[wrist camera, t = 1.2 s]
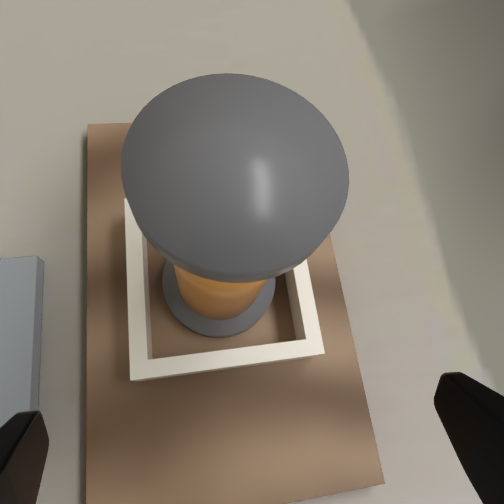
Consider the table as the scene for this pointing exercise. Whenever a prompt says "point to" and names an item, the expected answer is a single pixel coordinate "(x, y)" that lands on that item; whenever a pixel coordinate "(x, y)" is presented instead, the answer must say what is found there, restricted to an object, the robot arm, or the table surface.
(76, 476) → the table surface
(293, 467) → the walnut board
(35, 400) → the grey mat
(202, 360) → the white square frame
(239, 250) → the orange cylinder grey ends
